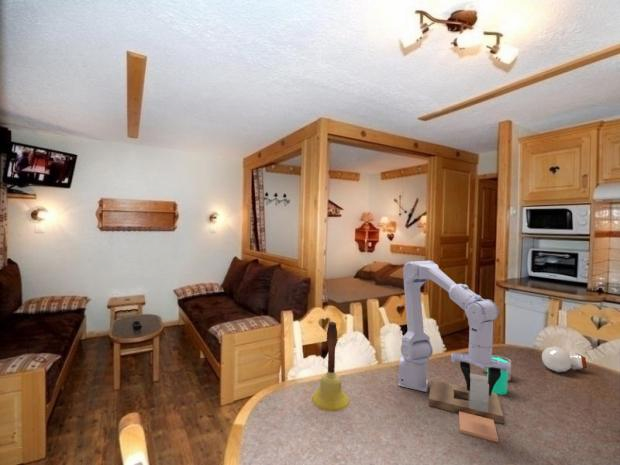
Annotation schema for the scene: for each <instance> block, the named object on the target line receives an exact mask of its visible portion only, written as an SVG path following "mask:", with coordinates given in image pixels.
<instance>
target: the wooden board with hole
mask: <svg viewBox="0 0 620 465" xmlns="http://www.w3.org/2000/svg"><path fill="white" fill-rule="evenodd" d="M429 387H430V388H429V396H428V406H430V407H434V408H437V409H441V410H446V411H449V412H454V413H457V414H459V411H460V412H464V413H468V414H472V415H476V416H481V417H485V418H489V419H493V420H494V423H498V424H503V425H504V418H505V416H504V413H503V409H502V407H501V403H500V401H499V400H500V399H499V397H498V394H496V393H493V392H492V393H491V396H490V395H489V399H488V413H486V412H482V411H478V410H474V409H470V408H469V401H466V400H468V397H469V391H467V386H462V385H458V384H455V383H448V382H444V381H439V380H433V379H430V386H429ZM455 397H456V398H455ZM457 398H460V399H457ZM463 399H464V400H463Z"/></svg>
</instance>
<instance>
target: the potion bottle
mask: <svg viewBox="0 0 620 465" xmlns="http://www.w3.org/2000/svg"><path fill="white" fill-rule="evenodd" d="M541 359H542V362H543V364H544V365H545V366H546V368H548V369H549V370H551V371H554V372H555V373H563V372H567V371H568V370H570V369H572V370H573V371H576V370H578V371H580V370H583V369H584V370H585V369H587V368H588V367H587V361H586V357H585V356H582V355H581V354H578V353H575V352H574V351H573V352H572V351H570V352H568V351H566V349H563V348H561V347H559V346H555V345H554V346H549V347H546V348H545V349H544V350H543V351H542V353H541Z"/></svg>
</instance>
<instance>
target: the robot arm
mask: <svg viewBox="0 0 620 465" xmlns="http://www.w3.org/2000/svg"><path fill="white" fill-rule="evenodd" d="M402 273H403V288H404V289H403V290H404V301H405V313H406V324H407V326H406V327H407V331H406V333H405V334H404V335H403V336H402V338H401V345H400V353H401V356H400V357H399V363H398V376H397V377H398V381H397V382H398V383H397V385H398V387H404V388H406V389H407V388H408V389H412V390H415V391H419V392H420V391H421V392H425V393H427V392H428V385H429V380H428V374H427V373H428V361H429V360H430V358H431V357H432V356H433V352H434V348H433V346H432V343H431V339H430V336H429V335H428V334H427V333H425V329H424V320H423V319H424V317H423V307H422V306H423V305H422V295H421V287H422V286H423V285H424V284H425V283H426V282H428V281H430V280H431V281H432V282H434V283H435V284H436V285H437V286H439V287H441V288H442V289H444V290H445V291H446V292H448V297H449V300H452V301H453V303H455V304H456V305H458V306H459V308H461V309H462V310H464V312H465V316H466V318H467V321H468V323H467V324H468V327H469V329H468V330H469V332H468V333H469V334H468V336H469V337H468V339H469V340H468V353H456V352H455V353H454V352H451V355H450V362H451V363H459V365H460V370H461V372H462V374H463V377H464V380H465V384H466V387H467V391H470V373H471V366H476V367H477V368H481V367H482V368H488V372H487V374H488V382H489V395H490V396H491V393H493V392H492V390H493V387H494V385H495V383H496V382H497V380H498V379H499V378H500V376H501V372H500V370H503V371H506V372H508V373H511V374H512V364H511V365H510V363H506V362H502V361H499V360H495V359H492V356H493V341H494V340H493V339H494V321H495V320H496V319H498V316H499V315H500V314H499V308H498V306H497V304H496V303H495V302H493V300H492V299H488V298H487V299H484V298H482V296H481V295H480V294H477V293H476V292H474V291H472V290H471V289H470V288H469V286H468V285H467V284H463V283H456V282H455V281H454V280H452V279H451V278H450V277H449V276H448V275H447V274H446V273H445V272H443V271H442V269H440V267H439V264H437V263H435V262H434V261H433V260H422V261H421V260H417V261H416V260H415V261H412V260H411V261H407V262H406V263H405V265H404V266H403V267H402Z"/></svg>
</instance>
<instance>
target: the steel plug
mask: <svg viewBox="0 0 620 465" xmlns="http://www.w3.org/2000/svg"><path fill="white" fill-rule="evenodd" d="M488 399H489V382H488V378H487V375H486V376H485V375H480V374H475V373H471V372H470V391H469V397H468V399H467V400H468V401H467V402H469V408H470V409H474V410H478V411H482V412H486V413H488Z"/></svg>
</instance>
